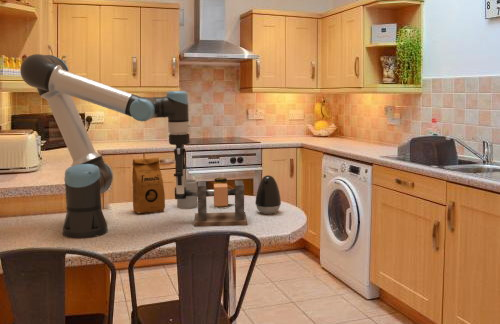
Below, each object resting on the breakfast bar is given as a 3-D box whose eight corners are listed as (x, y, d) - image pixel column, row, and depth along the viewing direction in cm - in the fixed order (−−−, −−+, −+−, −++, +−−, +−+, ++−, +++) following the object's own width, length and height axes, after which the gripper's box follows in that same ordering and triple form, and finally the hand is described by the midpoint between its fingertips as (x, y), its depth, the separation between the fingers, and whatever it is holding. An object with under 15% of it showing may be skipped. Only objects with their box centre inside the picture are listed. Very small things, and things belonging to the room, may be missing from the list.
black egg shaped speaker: (252, 215, 214) (252, 177, 212) (258, 209, 224) (258, 172, 222) (278, 216, 212) (278, 178, 209) (282, 210, 222) (283, 173, 219)
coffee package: (166, 212, 219) (165, 158, 216) (135, 215, 215) (133, 160, 211) (161, 207, 228) (159, 155, 225) (131, 210, 224) (129, 157, 221)
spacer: (214, 205, 201) (213, 187, 200) (214, 201, 208) (213, 183, 207) (227, 205, 201) (227, 187, 200) (227, 201, 208) (227, 183, 207)
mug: (198, 208, 226) (198, 182, 225) (178, 209, 225) (177, 183, 223) (195, 202, 238) (195, 177, 236) (176, 203, 236) (175, 178, 235)
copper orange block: (209, 207, 228) (209, 179, 227) (220, 203, 236) (219, 175, 234) (224, 208, 225) (224, 180, 223) (234, 204, 232) (234, 177, 231)
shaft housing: (194, 226, 198) (193, 187, 196) (195, 216, 212) (194, 180, 210) (247, 225, 199) (247, 186, 197) (245, 215, 213) (244, 179, 211)
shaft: (174, 200, 201) (174, 188, 200) (175, 197, 205) (175, 186, 205) (239, 199, 203) (239, 187, 202) (239, 196, 207) (238, 185, 206)
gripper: (187, 136, 188) (190, 196, 191) (190, 130, 212) (192, 183, 215) (165, 137, 187) (168, 197, 190) (171, 130, 212) (173, 184, 215)
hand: (181, 190), depth 203 cm, fingers open, 13 cm apart
